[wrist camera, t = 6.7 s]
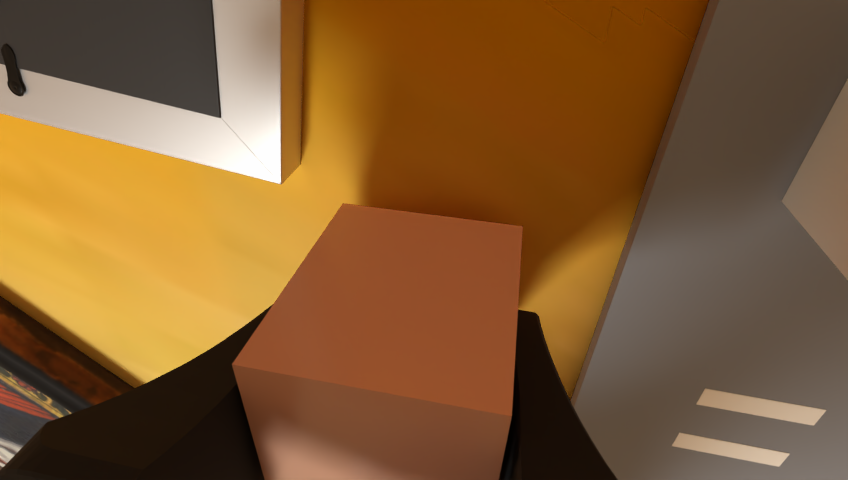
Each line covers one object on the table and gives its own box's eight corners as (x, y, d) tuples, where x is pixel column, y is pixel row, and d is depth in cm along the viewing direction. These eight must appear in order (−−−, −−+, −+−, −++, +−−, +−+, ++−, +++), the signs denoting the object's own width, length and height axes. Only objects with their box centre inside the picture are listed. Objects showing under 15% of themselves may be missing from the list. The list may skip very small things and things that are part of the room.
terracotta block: (500, 356, 16) (482, 556, 11) (352, 331, 16) (273, 508, 12) (523, 226, 13) (512, 416, 8) (342, 203, 14) (232, 364, 9)
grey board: (827, 526, 19) (835, 542, 19) (547, 468, 21) (547, 482, 20) (1651, -240, 7) (1740, -252, 6) (796, -251, 8) (813, -262, 8)
